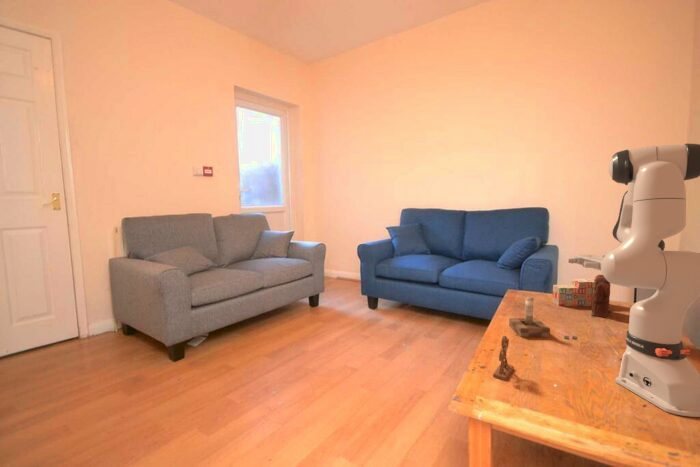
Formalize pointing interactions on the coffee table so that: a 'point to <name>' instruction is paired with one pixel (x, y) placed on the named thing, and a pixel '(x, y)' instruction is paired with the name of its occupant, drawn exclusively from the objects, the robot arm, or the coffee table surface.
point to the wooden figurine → (600, 296)
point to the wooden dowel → (528, 311)
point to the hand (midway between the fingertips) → (576, 262)
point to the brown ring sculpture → (503, 362)
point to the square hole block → (529, 328)
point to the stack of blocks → (574, 293)
